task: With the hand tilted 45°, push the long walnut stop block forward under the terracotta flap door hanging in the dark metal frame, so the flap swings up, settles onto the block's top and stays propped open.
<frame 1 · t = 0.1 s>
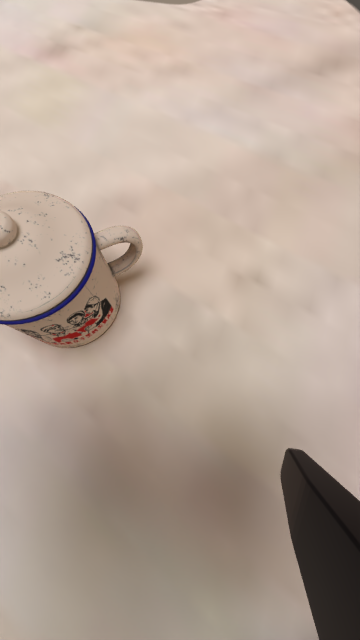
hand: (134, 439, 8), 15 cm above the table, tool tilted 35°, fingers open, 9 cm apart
teacup with lid: (89, 296, 26), on the table
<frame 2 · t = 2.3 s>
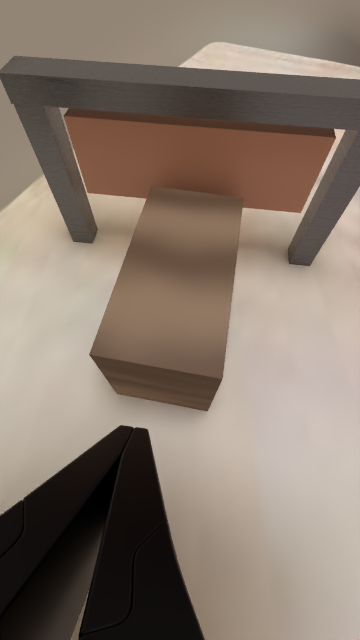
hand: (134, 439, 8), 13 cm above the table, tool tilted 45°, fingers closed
stop block: (178, 323, 25), on the table
flap door: (194, 164, 22), point 9 cm above the table, hinge at 0.0°
gate frame: (190, 245, 29), on the table
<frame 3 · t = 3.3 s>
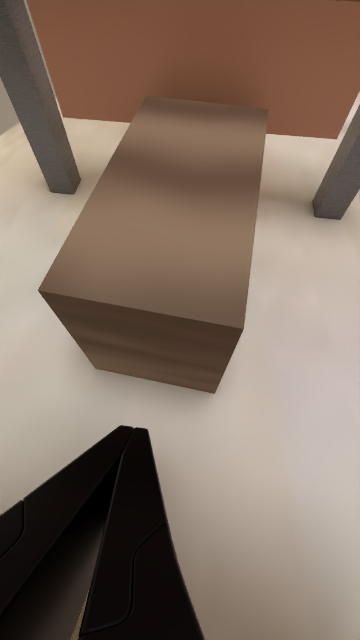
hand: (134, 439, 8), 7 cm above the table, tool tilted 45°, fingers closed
stop block: (179, 284, 20), on the table
flap door: (200, 67, 16), point 9 cm above the table, hinge at 0.0°
gate frame: (193, 197, 24), on the table
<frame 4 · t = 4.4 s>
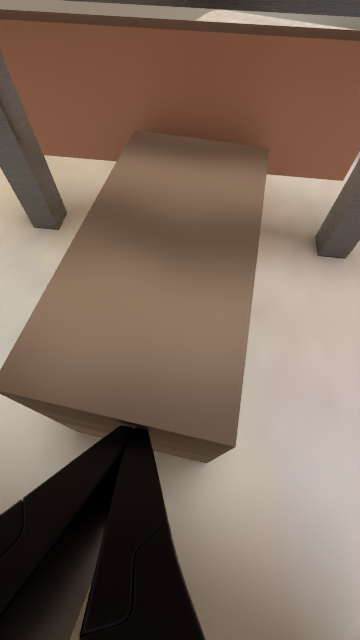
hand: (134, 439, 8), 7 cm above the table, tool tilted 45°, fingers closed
stop block: (171, 329, 18), on the table, touching gripper
flap door: (192, 105, 15), point 9 cm above the table, hinge at 0.0°
gate frame: (186, 232, 22), on the table
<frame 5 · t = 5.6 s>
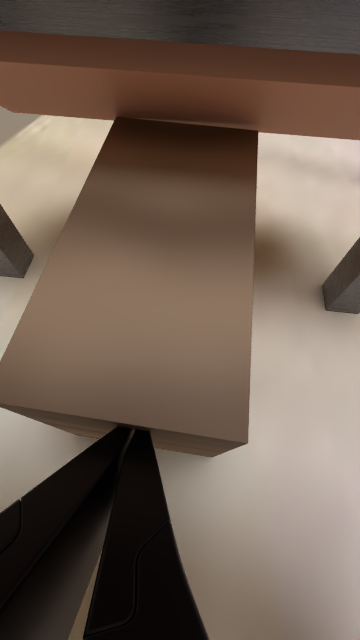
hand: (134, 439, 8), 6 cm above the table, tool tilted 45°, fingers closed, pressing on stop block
stop block: (166, 324, 18), on the table, touching flap door, gripper
flap door: (179, 88, 12), point 10 cm above the table, hinge at 49.4°, touching stop block
gate frame: (173, 281, 19), on the table
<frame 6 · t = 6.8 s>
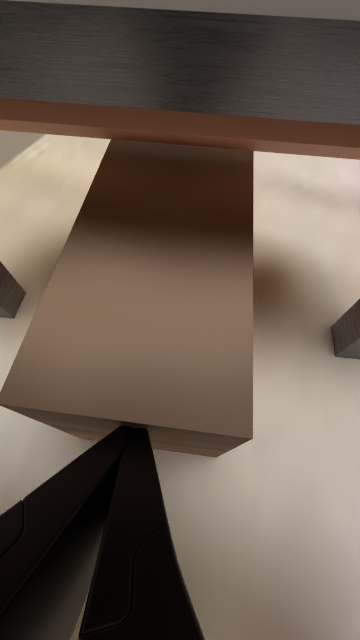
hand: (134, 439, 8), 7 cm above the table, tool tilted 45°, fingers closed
stop block: (167, 328, 18), on the table
flap door: (178, 121, 10), point 10 cm above the table, hinge at 58.0°
gate frame: (171, 322, 18), on the table
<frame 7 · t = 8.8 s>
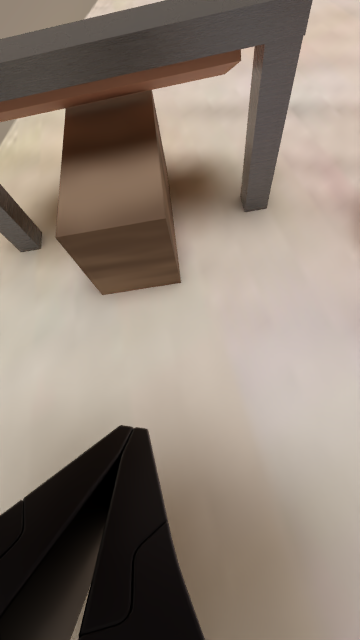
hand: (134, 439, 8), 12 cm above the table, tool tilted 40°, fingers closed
stop block: (137, 226, 28), on the table
flap door: (98, 85, 19), point 10 cm above the table, hinge at 58.0°
gate frame: (139, 222, 27), on the table
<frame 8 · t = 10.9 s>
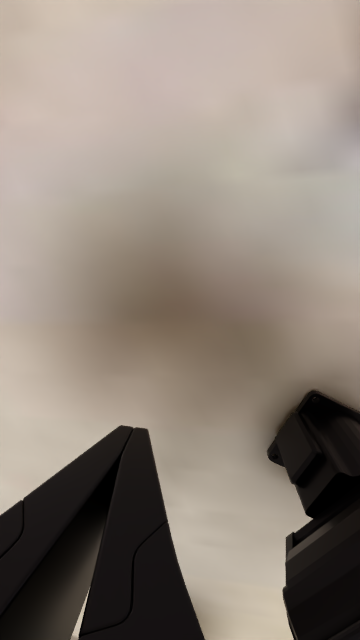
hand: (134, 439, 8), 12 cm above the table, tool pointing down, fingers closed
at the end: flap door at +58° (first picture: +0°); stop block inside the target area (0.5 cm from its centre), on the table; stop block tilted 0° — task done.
